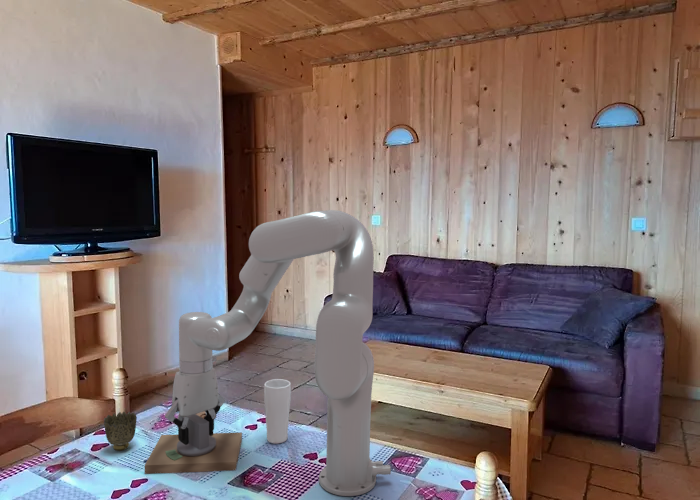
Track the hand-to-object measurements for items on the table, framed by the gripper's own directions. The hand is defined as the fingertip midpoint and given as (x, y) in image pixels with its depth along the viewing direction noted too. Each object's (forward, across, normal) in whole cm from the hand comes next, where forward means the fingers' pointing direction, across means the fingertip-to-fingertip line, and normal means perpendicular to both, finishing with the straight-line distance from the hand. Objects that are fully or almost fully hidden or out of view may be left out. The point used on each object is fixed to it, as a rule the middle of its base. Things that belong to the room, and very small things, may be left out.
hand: (196, 437), depth 122 cm
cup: (+5, +11, -16) cm, 20 cm away
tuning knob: (+2, 0, -1) cm, 3 cm away
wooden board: (+5, 0, 0) cm, 5 cm away
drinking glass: (+5, -19, +7) cm, 21 cm away
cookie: (+5, -9, -17) cm, 20 cm away
